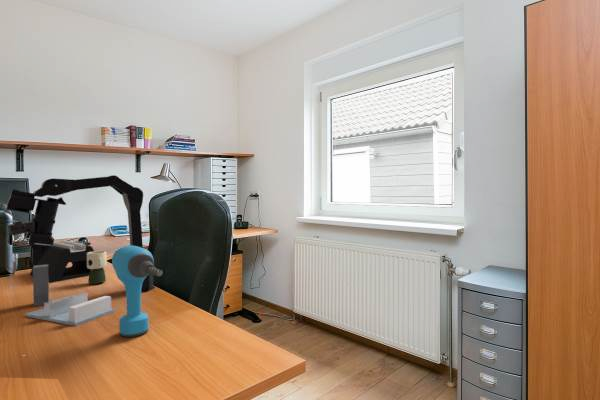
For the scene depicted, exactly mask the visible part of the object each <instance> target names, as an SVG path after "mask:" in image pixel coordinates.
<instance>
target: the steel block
mask: <svg viewBox="0 0 600 400" xmlns="http://www.w3.org/2000/svg"><path fill="white" fill-rule="evenodd" d="M33 266H34V265H33ZM33 266H32V268H33V276H32V286H33V287H32V288H33V294H32V295H33V307H35V308H36V307H41V306H44V303H46V302H49V301H50V283H49V265H48V264H47V265H36V266H34V267H33Z"/></svg>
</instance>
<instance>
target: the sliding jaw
mask: <svg viewBox="0 0 600 400" xmlns="http://www.w3.org/2000/svg"><path fill="white" fill-rule="evenodd" d="M87 301H89V299H88V292H86V291H85V292H84V291H81V292H78V293H74V294H71V295H68V296H64V297H60V298H56V299H53V300H49V302H46V303H44V305H43V307H44V310H45V316H47V317H52V316H55V315H58V314H62V313H65V312H68V311H69V307H71V306H74V305H77V304H81V303H84V302H87Z"/></svg>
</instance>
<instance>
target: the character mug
mask: <svg viewBox="0 0 600 400" xmlns="http://www.w3.org/2000/svg"><path fill="white" fill-rule="evenodd" d="M107 263H108V262H107V251H105V250H97V251H96V250H94V252H88V253H87V268H88V269H91V270H90V273H89V276H88V282H87V283H88V284H90V285H95V284H97V285H99V284H100V283H104V282H107V278H106V273H105V272H104V271H105V269H104V268H106V267H107V265H108V264H107Z"/></svg>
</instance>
